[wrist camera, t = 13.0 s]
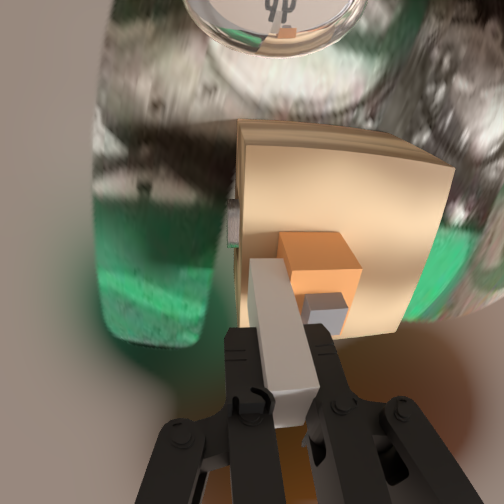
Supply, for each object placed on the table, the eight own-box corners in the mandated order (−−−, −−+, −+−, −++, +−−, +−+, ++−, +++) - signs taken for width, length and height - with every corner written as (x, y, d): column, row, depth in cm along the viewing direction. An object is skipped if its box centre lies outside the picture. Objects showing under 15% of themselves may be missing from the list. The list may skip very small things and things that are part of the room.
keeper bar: (279, 232, 14) (297, 287, 11) (339, 232, 14) (371, 283, 11) (272, 297, 16) (284, 356, 13) (325, 295, 17) (347, 350, 13)
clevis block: (237, 118, 18) (246, 145, 12) (389, 133, 20) (455, 168, 13) (233, 270, 25) (239, 345, 18) (359, 268, 26) (395, 331, 20)
